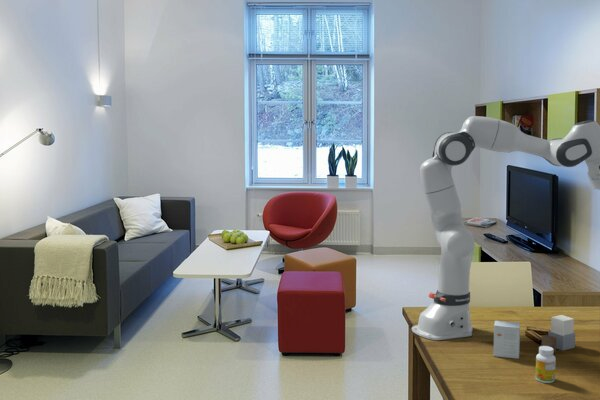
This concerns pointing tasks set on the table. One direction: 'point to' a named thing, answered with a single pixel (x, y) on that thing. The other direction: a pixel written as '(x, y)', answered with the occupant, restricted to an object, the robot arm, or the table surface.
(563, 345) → the base block
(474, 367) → the table surface
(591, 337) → the table surface
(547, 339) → the walnut cylinder
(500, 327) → the small box
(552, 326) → the top block
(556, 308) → the table surface
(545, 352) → the supplement bottle
